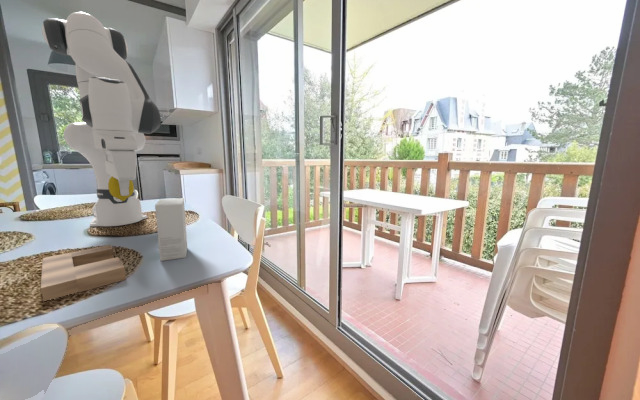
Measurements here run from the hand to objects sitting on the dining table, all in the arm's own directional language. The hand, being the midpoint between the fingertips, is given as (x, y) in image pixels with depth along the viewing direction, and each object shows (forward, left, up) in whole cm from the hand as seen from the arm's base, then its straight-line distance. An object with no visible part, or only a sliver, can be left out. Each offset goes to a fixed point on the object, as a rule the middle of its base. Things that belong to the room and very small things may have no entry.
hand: (122, 193), depth 71 cm
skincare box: (+11, +9, -18) cm, 22 cm away
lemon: (0, 0, -2) cm, 2 cm away
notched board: (+8, -10, -17) cm, 22 cm away
